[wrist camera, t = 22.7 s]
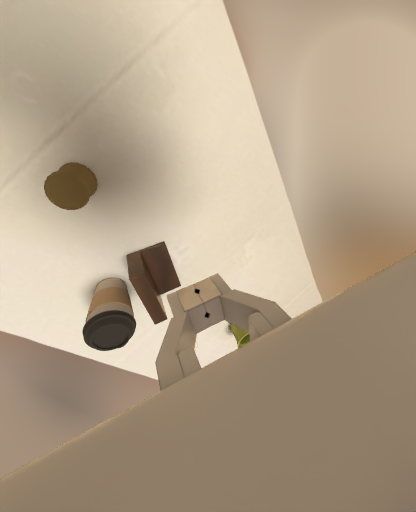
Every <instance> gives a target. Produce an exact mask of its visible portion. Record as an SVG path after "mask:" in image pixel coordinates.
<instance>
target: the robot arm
mask: <svg viewBox="0 0 416 512" xmlns="http://www.w3.org/2000/svg"><path fill="white" fill-rule="evenodd" d="M167 299H168V302H169V304H170V307H171V310H172V313H173V316H174V317H173V318H171V321H170V323H169V326H168V329H167V332H166V334H165V337H164V340H163V343H162V346H161V348H160V351H159V354H158V357H157V359H156V362H155V363H156V369H157V374H158V379H159V385H160V390H161V391H160V392H158V393H156V394H154V395H152V396H150V397H148V398H147V399H145V400H143V401H141V402H139V403H137V404H136V405H134V406H132V407H130V408H128V409H126V410H125V411H123V412H121V413H119V414H117V415H115V416H114V417H112V418H110V419H108V420H106V421H104V422H103V423H101V424H99V425H97V426H95V427H93V428H92V429H90V430H88V431H86V432H84V433H83V434H81V435H79V436H77V437H75V438H73V439H72V440H70V441H68V442H66V443H64V444H62V445H60V446H59V447H57V448H55V449H53V450H51V451H49V452H48V453H46V454H44V455H42V456H40V457H39V458H37V459H35V460H33V461H31V462H30V463H28V464H26V465H24V466H22V467H20V468H18V469H17V470H15V471H13V472H11V473H9V474H7V475H5V476H4V477H2V478H0V512H416V252H414V253H412V254H410V255H409V256H407V257H405V258H403V259H401V260H399V261H397V262H396V263H394V264H392V265H390V266H388V267H386V268H385V269H383V270H381V271H379V272H377V273H375V274H374V275H372V276H370V277H368V278H366V279H365V280H363V281H361V282H359V283H357V284H356V285H354V286H352V287H350V288H348V289H346V290H344V291H342V292H341V293H339V294H337V295H335V296H333V297H332V298H330V299H328V300H326V301H324V302H322V303H320V304H319V305H317V306H315V307H313V308H311V309H310V310H308V311H306V312H304V313H302V314H300V315H299V316H297V317H295V318H293V319H292V318H291V317H290V316H288V315H287V314H286V313H285V312H284V311H283V310H282V309H281V308H280V307H279V306H278V305H277V304H276V303H275V302H273V301H270V300H267V299H263V298H260V297H257V296H254V295H251V294H247V293H244V292H241V291H238V290H235V289H234V290H231V289H230V288H229V286H228V285H227V284H226V283H225V281H224V280H223V279H222V278H221V277H220V275H219V274H215V275H213V276H210V277H209V278H206V279H204V280H202V281H200V282H197V283H195V284H193V285H190V286H188V287H185V288H183V289H180V290H178V291H176V292H173V293H171V294H169V295H167ZM223 320H226V321H227V322H229V323H231V324H233V325H235V326H237V327H239V328H240V329H242V330H244V331H246V332H248V333H250V342H249V343H247V344H246V345H244V346H242V347H240V348H238V349H236V350H235V351H233V352H231V353H229V354H227V355H225V356H224V357H222V358H220V359H218V360H216V361H214V362H213V363H211V364H209V365H207V366H205V367H203V368H201V366H200V364H199V361H198V359H197V356H196V354H195V352H194V348H195V342H196V334H197V333H199V332H201V331H203V330H204V329H206V328H208V327H210V326H212V325H214V324H217V323H219V322H221V321H223Z"/></svg>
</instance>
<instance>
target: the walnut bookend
mask: <svg viewBox="0 0 416 512" xmlns="http://www.w3.org/2000/svg"><path fill="white" fill-rule="evenodd" d="M127 262H128V271H129V280H130V281H131V283H132V285H133V287H134V288H135V290H136V292H137V294H138V295H139V297H140V299H141V301H142V303H143V304H144V306H145V308H146V310H147V311H148V313H149V315H150V317H151V318H152V320H153V322H154V324H155V325H156V324H158V323H160V322H162V321H164V320H166V319H167V316H166V312H165V309H164V306H163V303H162V299H161V296H160V295H161V294H163V293H166V292H168V291H170V290H173V289H175V288H177V287H179V286H181V285H180V282H179V279H178V277H177V274H176V271H175V269H174V266H173V263H172V261H171V258H170V255H169V253H168V250H167V247H166V245H165V242H161V243H159V244H156V245H153V246H150V247H148V248H145V249H142V250H140V251H137V252H134V253H132V254H129V255H127Z"/></svg>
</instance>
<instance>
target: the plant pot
mask: <svg viewBox="0 0 416 512" xmlns="http://www.w3.org/2000/svg"><path fill="white" fill-rule="evenodd" d="M230 327H231V330H232V332H233V334H234V336H235V338H236V340H237V344H238V348H240V347H242V346H244V345H246V344H247V343H249V342H250V333H248V332H246V331H244V330H242V329H240V328H239V327H237V326H235V325H233V324H230Z"/></svg>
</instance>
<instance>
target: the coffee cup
mask: <svg viewBox="0 0 416 512" xmlns="http://www.w3.org/2000/svg"><path fill="white" fill-rule="evenodd" d="M135 328H136V321H135V319H134V314H133V309H132V305H131V301H130V297H129V294H128V290H127V286H126V284H125V282H124V281H122V280H121V279H118V278H108V279H105V280H103V281H101V282H100V283H99V284H98V285H97V287H96V290H95V293H94V296H93V298H92V301H91V304H90V308H89V311H88V314H87V318H86V324H85V325H84V327H83V336H84V341H85V343H86V344H87V345H88V346H90V347H92V348H94V349H97V350H100V351H108V350H113V349H116V348H121V347H123V346H124V345H125V344H126V343H127V342H128V341H129V339H130V338H131V337H132V336H133V334H134V332H135Z"/></svg>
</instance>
